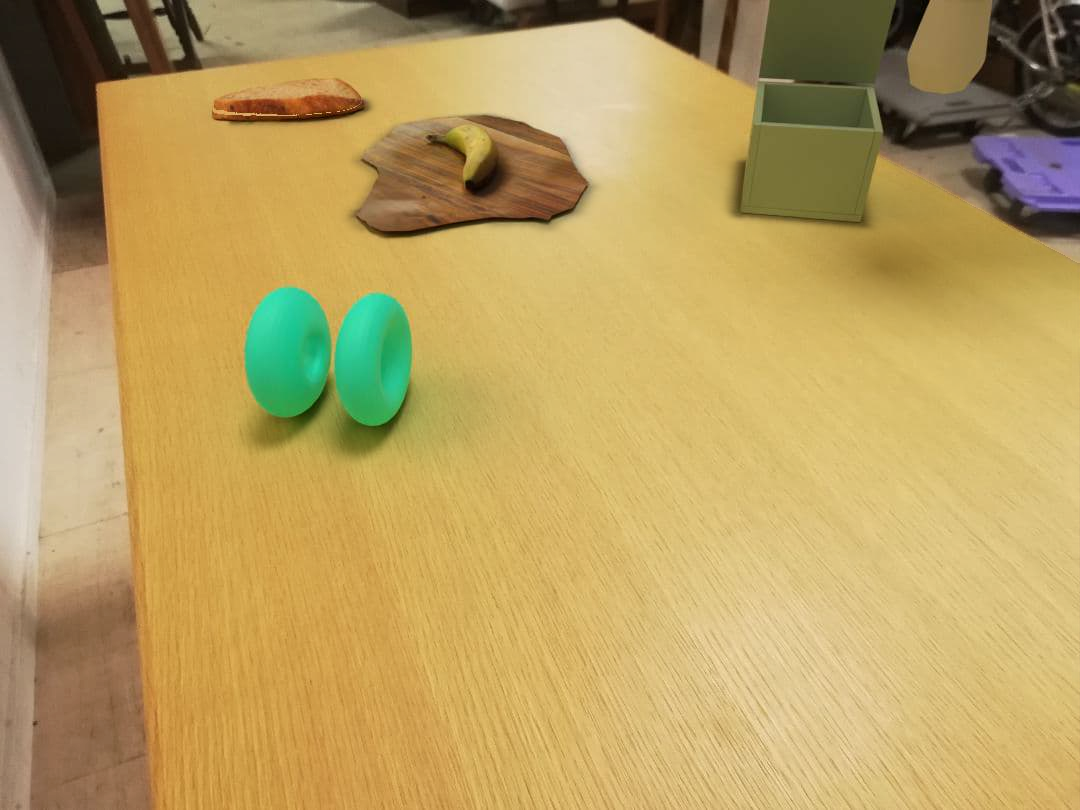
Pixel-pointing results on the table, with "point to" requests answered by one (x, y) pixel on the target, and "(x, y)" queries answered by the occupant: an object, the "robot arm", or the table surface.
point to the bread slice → (291, 100)
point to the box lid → (825, 39)
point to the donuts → (328, 355)
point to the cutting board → (468, 173)
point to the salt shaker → (949, 45)
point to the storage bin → (811, 150)
